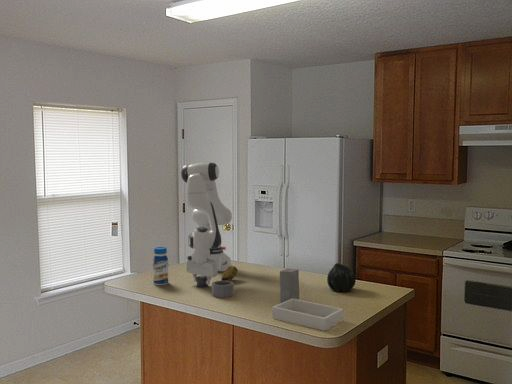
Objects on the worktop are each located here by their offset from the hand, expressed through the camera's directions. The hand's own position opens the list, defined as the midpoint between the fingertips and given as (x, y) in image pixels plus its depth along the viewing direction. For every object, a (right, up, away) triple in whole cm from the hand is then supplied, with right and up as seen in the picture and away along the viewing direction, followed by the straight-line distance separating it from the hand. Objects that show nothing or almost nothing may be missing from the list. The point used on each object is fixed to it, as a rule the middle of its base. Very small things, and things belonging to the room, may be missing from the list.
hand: (202, 282), depth 267 cm
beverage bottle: (-23, -2, +6) cm, 24 cm away
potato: (+14, -1, +10) cm, 17 cm away
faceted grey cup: (+12, -3, -17) cm, 21 cm away
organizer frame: (+52, -6, -54) cm, 75 cm away
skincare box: (+45, -4, -29) cm, 54 cm away
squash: (+74, -3, -9) cm, 75 cm away
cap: (0, -2, 0) cm, 2 cm away
